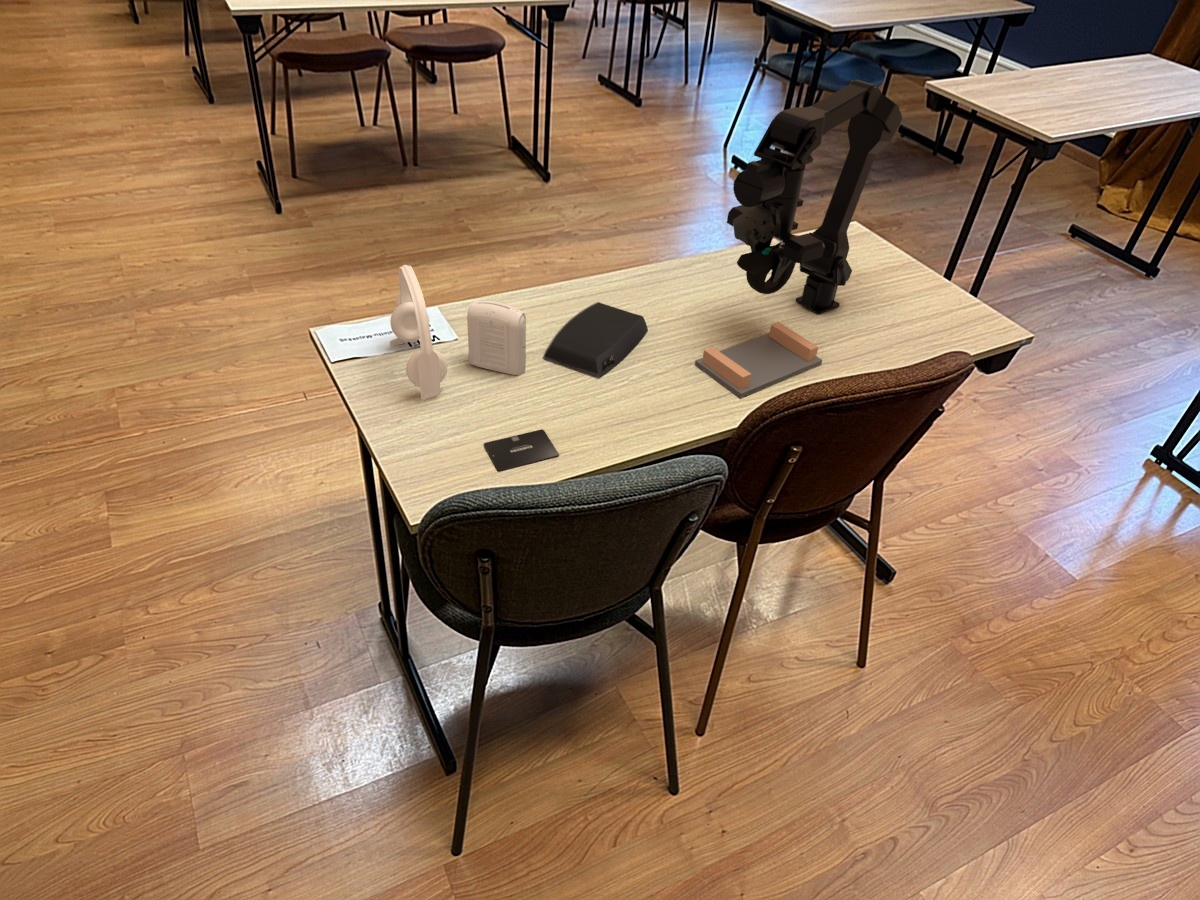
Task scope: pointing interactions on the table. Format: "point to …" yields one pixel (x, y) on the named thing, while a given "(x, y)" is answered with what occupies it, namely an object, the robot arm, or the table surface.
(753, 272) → the controller
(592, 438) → the table surface
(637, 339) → the external hard drive
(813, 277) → the robot arm
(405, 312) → the headset
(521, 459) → the solid state drive
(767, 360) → the dock
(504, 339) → the photo printer
